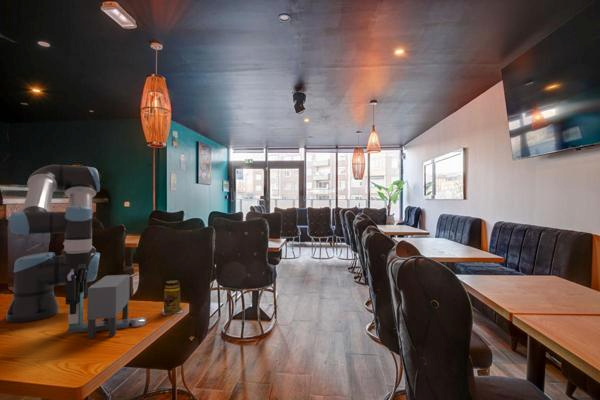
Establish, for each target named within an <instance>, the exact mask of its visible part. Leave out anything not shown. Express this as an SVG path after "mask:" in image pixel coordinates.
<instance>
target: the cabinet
mask: <svg viewBox="0 0 600 400" xmlns="http://www.w3.org/2000/svg"><path fill="white" fill-rule="evenodd" d="M130 276H131V275H130V274H117V275H116V274H114V275H105V276H104V277H102V278H101V279H99V280H97V282H94V283H93V284H92V285H90V286H89V287H87V302H86V303H87V307H86V310H87V311H86V314H87V315H86V320H87V322H88V332H87V339H89V340H90V339H94V338H95V337H96V331H95V322H97V320H102V319H103V321H109V330H108V337H115V336H116V335H117V329H116V320H117V317H118V316H119V314H120V313H121V311H122V314H121V315H122V318H121V319H129V302H130V289H131V288H130V285H131V284H130V283H131V281H130V280H131V279H130V278H131V277H130Z"/></svg>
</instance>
